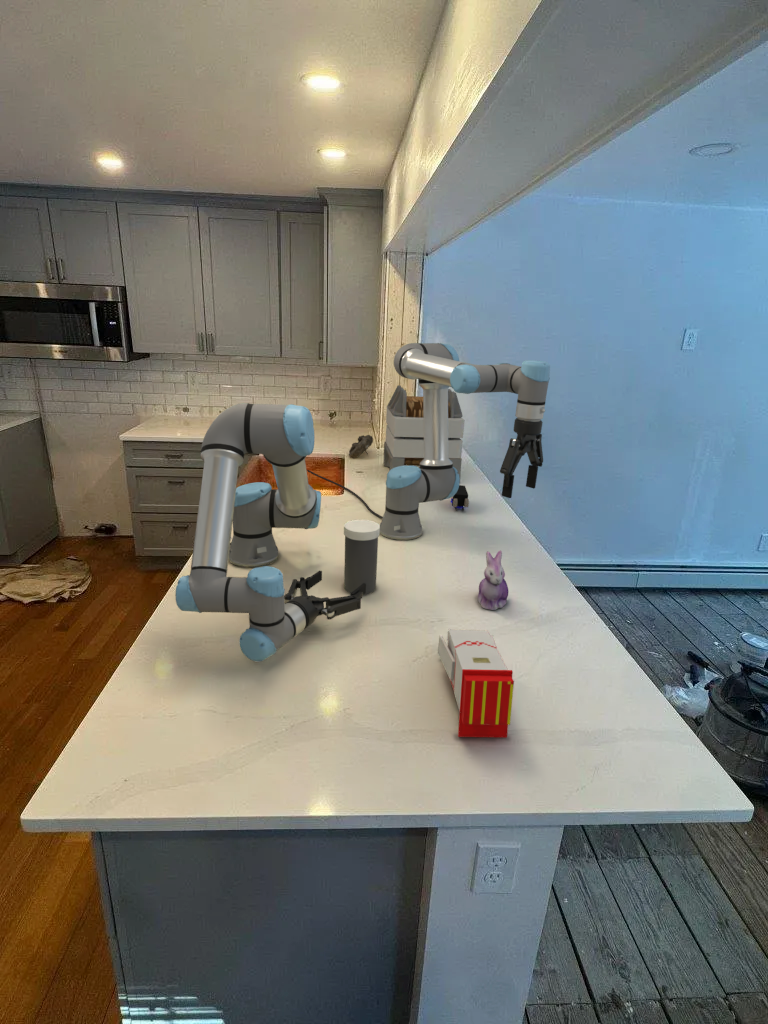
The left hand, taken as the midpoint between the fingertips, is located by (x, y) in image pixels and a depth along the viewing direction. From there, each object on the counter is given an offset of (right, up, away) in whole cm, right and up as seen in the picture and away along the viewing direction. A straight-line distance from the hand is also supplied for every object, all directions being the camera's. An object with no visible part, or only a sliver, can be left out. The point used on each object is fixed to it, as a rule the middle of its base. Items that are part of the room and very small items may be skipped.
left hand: (342, 581), depth 150 cm
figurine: (+41, -7, +5) cm, 42 cm away
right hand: (+50, +24, +14) cm, 57 cm away
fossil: (-2, +49, +155) cm, 163 cm away
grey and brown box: (+28, +37, +125) cm, 134 cm away
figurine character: (+41, +20, +80) cm, 92 cm away
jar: (+4, -3, +11) cm, 12 cm away
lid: (+5, +14, +4) cm, 16 cm away
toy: (+29, -19, -31) cm, 47 cm away
